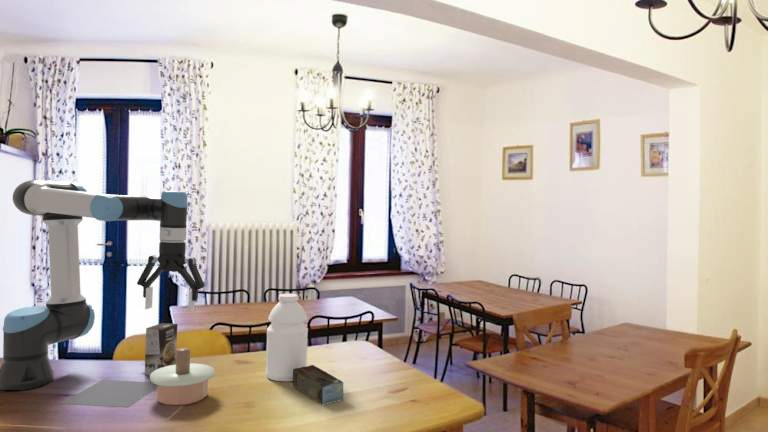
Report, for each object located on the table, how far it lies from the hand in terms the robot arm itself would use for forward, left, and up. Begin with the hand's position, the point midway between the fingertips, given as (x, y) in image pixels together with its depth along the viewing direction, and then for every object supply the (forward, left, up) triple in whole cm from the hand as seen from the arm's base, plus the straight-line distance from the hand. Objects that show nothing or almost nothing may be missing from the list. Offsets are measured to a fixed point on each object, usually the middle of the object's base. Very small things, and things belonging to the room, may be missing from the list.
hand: (169, 309), depth 158 cm
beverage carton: (+46, +5, -26) cm, 53 cm away
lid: (+6, -4, -19) cm, 20 cm away
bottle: (+32, +20, -26) cm, 46 cm away
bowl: (+6, -4, -26) cm, 27 cm away
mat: (-15, -4, -26) cm, 30 cm away
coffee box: (-11, +17, -26) cm, 33 cm away
